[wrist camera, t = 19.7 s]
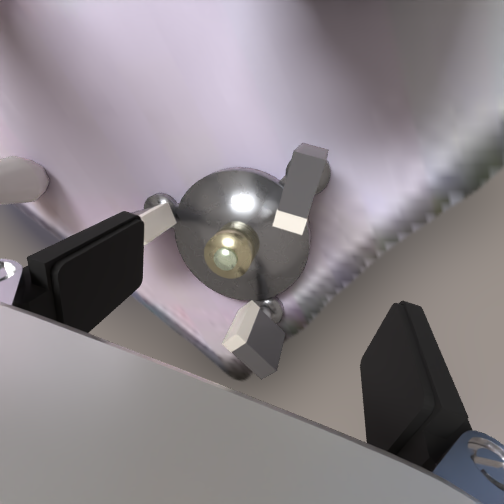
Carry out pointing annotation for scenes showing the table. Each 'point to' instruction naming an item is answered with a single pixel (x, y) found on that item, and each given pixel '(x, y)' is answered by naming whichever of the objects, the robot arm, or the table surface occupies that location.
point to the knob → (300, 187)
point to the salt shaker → (21, 180)
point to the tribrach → (239, 235)
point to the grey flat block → (156, 221)
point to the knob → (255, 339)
